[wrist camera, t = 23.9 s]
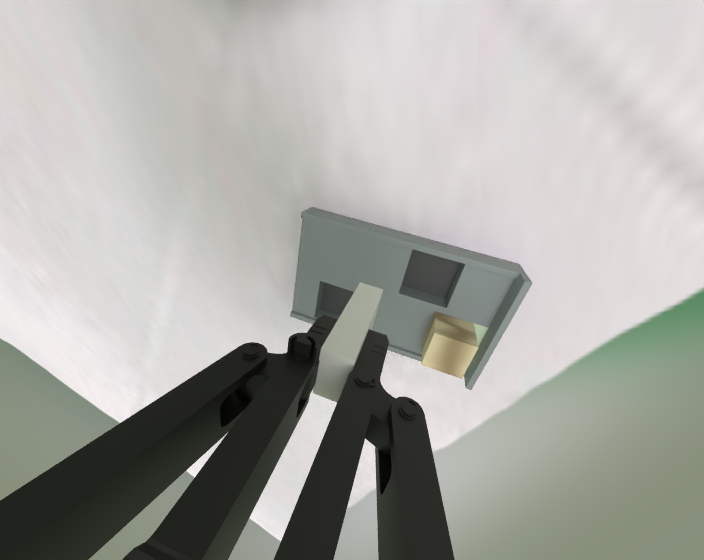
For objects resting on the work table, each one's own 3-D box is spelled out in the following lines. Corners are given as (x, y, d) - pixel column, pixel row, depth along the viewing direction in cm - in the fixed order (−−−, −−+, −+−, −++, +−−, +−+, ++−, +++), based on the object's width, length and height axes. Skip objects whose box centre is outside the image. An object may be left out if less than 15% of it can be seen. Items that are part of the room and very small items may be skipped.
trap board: (299, 305, 50) (283, 324, 45) (311, 207, 42) (293, 215, 37) (467, 362, 46) (471, 390, 41) (519, 264, 37) (532, 283, 32)
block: (423, 340, 43) (421, 364, 38) (435, 311, 40) (434, 333, 35) (459, 352, 42) (461, 378, 37) (473, 323, 39) (478, 347, 35)
